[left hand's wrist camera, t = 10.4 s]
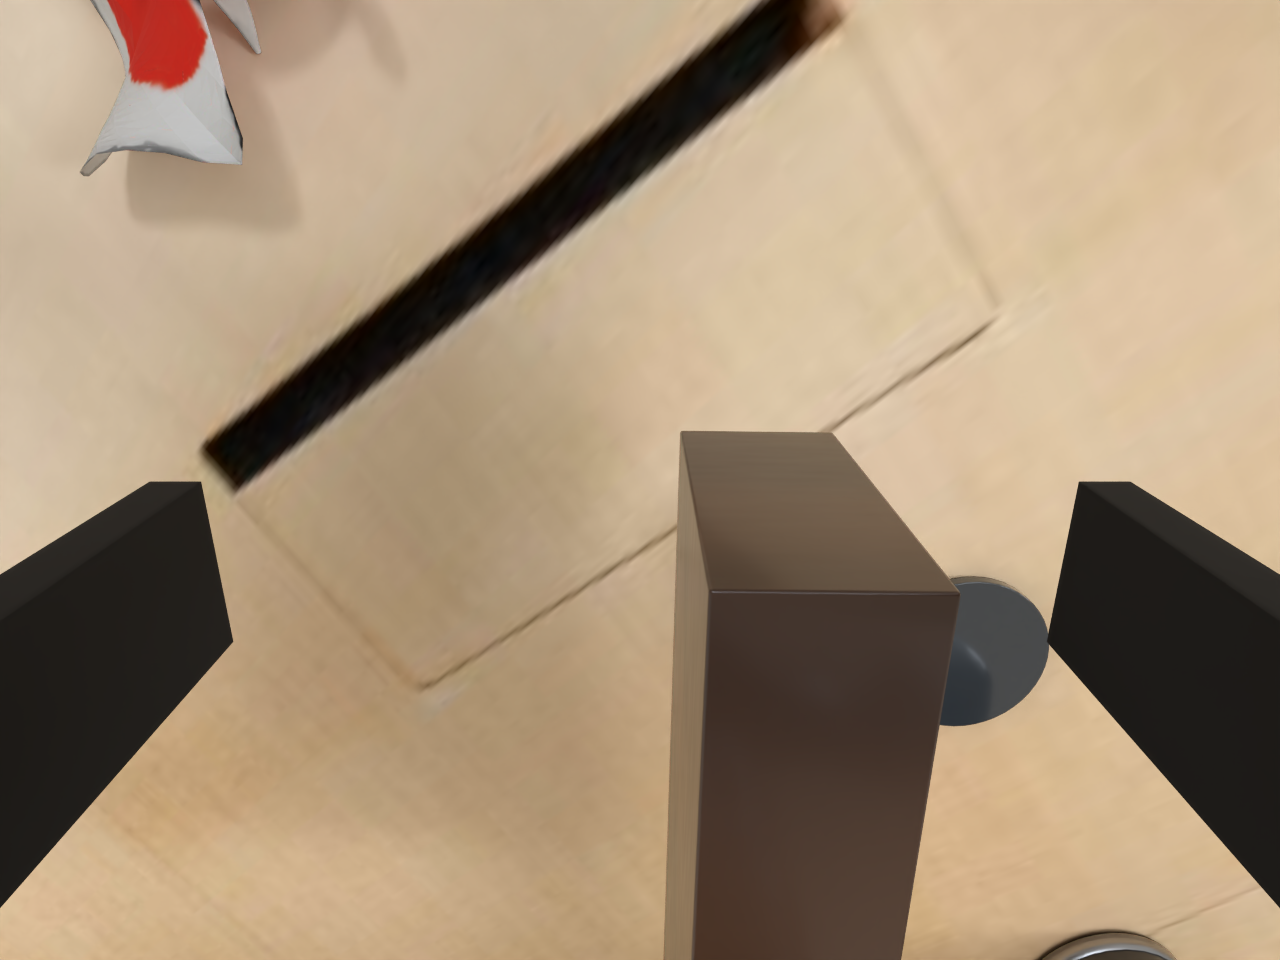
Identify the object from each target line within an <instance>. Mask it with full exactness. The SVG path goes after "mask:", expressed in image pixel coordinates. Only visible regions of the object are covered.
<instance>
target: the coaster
mask: <svg viewBox="0 0 1280 960" xmlns="http://www.w3.org/2000/svg"><path fill="white" fill-rule="evenodd" d="M950 580H951V582H952V583H953V584H954V585H955V587H956V588H957V589H958V590H959V592H960V594H961V596H960V602H959V608H958V615H957V621H956V627H955V633H954V639H953V645H952V651H951V657H950V663H949V670H948V676H947V682H946V688H945V694H944V700H943V706H942V712H941V718H940V724H939V725H944V726H965V725H972V724H977V723H981V722H984V721H987V720H990V719H992V718H995V717H997V716H999V715H1001V714H1003V713H1005V712H1007V711H1008V710H1010V709H1011V708H1013V707H1014V706H1015V705H1017V704H1018V703H1019V702H1020V701H1022V700H1023V699H1024V698H1025V697H1026V696H1027V695H1028V694H1029V693H1030V691H1031V690H1032V689H1033V687H1034V686H1035V685H1036V683H1037V682H1038V680H1039V678H1040V677H1041V675H1042V673H1043V670H1044V668H1045V665H1046V662H1047V658H1048V652H1049V644H1048V643H1047V638H1048V631H1047V627H1046V624H1045V621H1044V619H1043V617H1042V615H1041V613H1040V612H1039V610H1038V609H1037V608H1036V607H1035V605H1034V604H1033V603H1032V602H1031V601H1030V600H1029V599H1028V598H1027V597H1026V596H1025V595H1024V594H1023V593H1021V592H1020V591H1019V590H1017V589H1016V588H1014V587H1012V586H1010V585H1008V584H1006V583H1004V582H1001V581H998V580H995V579H990V578H985V577H961V578H955V579H950Z"/></svg>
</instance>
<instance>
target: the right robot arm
mask: <svg viewBox="0 0 1280 960" xmlns="http://www.w3.org/2000/svg"><path fill="white" fill-rule="evenodd" d="M1042 960H1176V959H1175V957H1174V956H1173V955H1172V954H1171V953H1170V952H1169V951H1168V950H1167V949H1166V948H1165V947H1163V946H1162V945H1161V944H1159V943H1157V942H1155V941H1153V940H1151V939H1148V938H1145V937H1142V936H1138V935H1133V934H1126V933H1106V934H1098V935H1093V936H1088V937H1084V938H1081V939H1078V940H1075V941H1072V942H1070V943H1068V944H1065V945H1063V946H1061V947H1060V948H1058V949H1056V950H1054V951H1053V952H1051V953H1050V954H1048V955H1047V956H1046V957H1044V958H1043V959H1042Z"/></svg>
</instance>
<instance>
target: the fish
mask: <svg viewBox="0 0 1280 960" xmlns="http://www.w3.org/2000/svg"><path fill="white" fill-rule="evenodd" d="M214 1H215V3H216V4H217V5H218V6H219V7H220V9H221V10H222V11H223V12H224V13H225V14H226V16H227V17H228V18H229V19H230V20H231V21H232V23H233V24H234V25H235V26H236V28H237V29H238V30H239V31H240V33H241V34H242V35H243V37H244V38H245V39H246V41H247V42H248V43H249V45H250V46H251V47H252V49H253V50H254V51H255V53H257V54H260V53H261V49H260V45H259V41H258V37H257V33H256V28H255V24H254V20H253V16H252V13H251V10H250V7H249V5H248V2H247V0H214ZM91 2H92V3H93V5H94V6H95V8H96V10H97V11H98V13H99V14H100V16H101V17H102V19H103V20H104V22H105V24H106V25H107V27H108V28H109V30H110V31H111V34H112V36H113V38H114V40H115V42H116V44H117V47H118V49H119V51H120V53H121V56H122V59H123V62H124V67H125V75H126V78H125V80H124V83H123V85H122V88H121V90H120V93H119V95H118V98H117V100H116V102H115V104H114V107H113V109H112V111H111V113H110V115H109V117H108V119H107V121H106V123H105V125H104V126H103V128H102V130H101V133H100V135H99V137H98V139H97V141H96V144H95V146H94V148H93V150H92V152H91V154H90V156H89V158H88V159H87V161H86V163H85V165H84V166H83V168H82V169H81V171H80V173H81V174H82V175H83V176H90V175H91V174H92V173H93V172H94V171H95V170H96V169H97V168H98V167H100V166H101V165H102V164H103V163H104V162H105V161H106V160H107V158H108V157H109V156H110V154H111V153H112V152H116V151H123V150H132V151H146V152H160V153H167V154H171V155H175V156H179V157H183V158H187V159H191V160H196V161H200V162H206V163H223V164H240V165H242V147H243V138H242V135H241V132H240V129H239V126H238V123H237V120H236V117H235V115H234V112H233V109H232V106H231V103H230V100H229V97H228V94H227V91H226V87H225V83H224V80H223V76H222V72H221V68H220V65H219V61H218V57H217V54H216V51H215V48H214V45H213V41H212V38H211V35H210V32H209V29H208V25H207V22H206V19H205V16H204V13H203V10H202V7H201V4H200V1H199V0H91Z"/></svg>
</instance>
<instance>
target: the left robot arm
mask: <svg viewBox="0 0 1280 960" xmlns="http://www.w3.org/2000/svg"><path fill="white" fill-rule="evenodd" d="M232 643H233V638H232V633H231V628H230V623H229V618H228V613H227V608H226V603H225V598H224V593H223V588H222V583H221V579H220V574H219V569H218V564H217V559H216V554H215V549H214V544H213V539H212V534H211V529H210V524H209V519H208V514H207V509H206V504H205V499H204V494H203V489H202V484H201V482H148V483H147V484H145V485H144V486H142V487H140V488H139V489H137V490H136V491H134V492H132V493H131V494H129V495H128V496H126V497H124V498H123V499H121V500H120V501H118V502H116V503H115V504H113V505H111V506H110V507H108V508H107V509H105V510H103V511H102V512H100V513H99V514H97V515H95V516H94V517H92V518H91V519H89V520H87V521H86V522H84V523H83V524H81V525H79V526H78V527H76V528H74V529H73V530H71V531H70V532H68V533H66V534H65V535H63V536H62V537H60V538H58V539H57V540H55V541H54V542H52V543H50V544H49V545H47V546H46V547H44V548H42V549H41V550H39V551H37V552H36V553H34V554H33V555H31V556H29V557H28V558H26V559H25V560H23V561H21V562H20V563H18V564H17V565H15V566H13V567H12V568H10V569H9V570H7V571H5V572H4V573H2V574H0V908H1V906H2V905H3V904H4V903H5V902H6V901H7V900H8V898H9V897H10V896H11V895H12V894H13V893H14V892H15V890H16V889H17V888H18V887H19V886H20V885H21V884H22V882H23V881H24V880H25V879H26V878H27V877H28V876H29V874H30V873H31V872H32V871H33V870H34V869H35V868H36V866H37V865H38V864H39V863H40V862H41V861H42V860H43V858H44V857H45V856H46V855H47V854H48V853H49V852H50V850H51V849H52V848H53V847H54V846H55V845H56V844H57V842H58V841H59V840H60V839H61V838H62V837H63V836H64V834H65V833H66V832H67V831H68V830H69V829H70V828H71V826H72V825H73V824H74V823H75V822H76V821H77V820H78V818H79V817H80V816H81V815H82V814H83V813H84V812H85V810H86V809H87V808H88V807H89V806H90V805H91V804H92V802H93V801H94V800H95V799H96V798H97V797H98V796H99V794H100V793H101V792H102V791H103V790H104V789H105V788H106V786H107V785H108V784H109V783H110V782H111V781H112V780H113V778H114V777H115V776H116V775H117V774H118V773H119V772H120V770H121V769H122V768H123V767H124V766H125V765H126V764H127V762H128V761H129V760H130V759H131V758H132V757H133V756H134V754H135V753H136V752H137V751H138V750H139V749H140V748H141V746H142V745H143V744H144V743H145V742H146V741H147V740H148V738H149V737H150V736H151V735H152V734H153V733H154V732H155V731H156V729H157V728H158V727H159V726H160V725H161V724H162V723H163V721H164V720H165V719H166V718H167V717H168V716H169V715H170V713H171V712H172V711H173V710H174V709H175V708H176V707H177V705H178V704H179V703H180V702H181V701H182V700H183V699H184V697H185V696H186V695H187V694H188V693H189V692H190V691H191V689H192V688H193V687H194V686H195V685H196V684H197V683H198V681H199V680H200V679H201V678H202V677H203V676H204V675H205V673H206V672H207V671H208V670H209V669H210V668H211V667H212V665H213V664H214V663H215V662H216V661H217V660H218V659H219V657H220V656H221V655H222V654H223V653H224V652H225V651H226V649H227V648H228V647H229V646H230V645H231V644H232ZM1047 643H1048V644H1049V645H1050V646H1051V647H1052V648H1053V649H1054V651H1055V652H1056V653H1057V654H1058V655H1059V656H1060V657H1061V659H1062V660H1063V661H1064V662H1065V663H1066V664H1067V665H1068V667H1069V668H1070V669H1071V670H1072V671H1073V672H1074V673H1075V675H1076V676H1077V677H1078V678H1079V679H1080V680H1081V681H1082V683H1083V684H1084V685H1085V686H1086V687H1087V688H1088V689H1089V691H1090V692H1091V693H1092V694H1093V695H1094V696H1095V697H1096V699H1097V700H1098V701H1099V702H1100V703H1101V704H1102V705H1103V707H1104V708H1105V709H1106V710H1107V711H1108V712H1109V713H1110V715H1111V716H1112V717H1113V718H1114V719H1115V720H1116V721H1117V723H1118V724H1119V725H1120V726H1121V727H1122V728H1123V729H1124V731H1125V732H1126V733H1127V734H1128V735H1129V736H1130V737H1131V738H1132V740H1133V741H1134V742H1135V743H1136V744H1137V745H1138V746H1139V748H1140V749H1141V750H1142V751H1143V752H1144V753H1145V754H1146V756H1147V757H1148V758H1149V759H1150V760H1151V761H1152V762H1153V764H1154V765H1155V766H1156V767H1157V768H1158V769H1159V770H1160V772H1161V773H1162V774H1163V775H1164V776H1165V777H1166V778H1167V780H1168V781H1169V782H1170V783H1171V784H1172V785H1173V786H1174V788H1175V789H1176V790H1177V791H1178V792H1179V793H1180V794H1181V796H1182V797H1183V798H1184V799H1185V800H1186V801H1187V802H1188V804H1189V805H1190V806H1191V807H1192V808H1193V809H1194V810H1195V812H1196V813H1197V814H1198V815H1199V816H1200V817H1201V818H1202V820H1203V821H1204V822H1205V823H1206V824H1207V825H1208V826H1209V828H1210V829H1211V830H1212V831H1213V832H1214V833H1215V834H1216V836H1217V837H1218V838H1219V839H1220V840H1221V841H1222V842H1223V844H1224V845H1225V846H1226V847H1227V848H1228V849H1229V850H1230V852H1231V853H1232V854H1233V855H1234V856H1235V857H1236V858H1237V860H1238V861H1239V862H1240V863H1241V864H1242V865H1243V866H1244V868H1245V869H1246V870H1247V871H1248V872H1249V873H1250V874H1251V876H1252V877H1253V878H1254V879H1255V880H1256V881H1257V882H1258V884H1259V885H1260V886H1261V887H1262V888H1263V889H1264V890H1265V892H1266V893H1267V894H1268V895H1269V896H1270V897H1271V898H1272V900H1273V901H1274V902H1275V903H1276V904H1277V905H1278V906H1279V908H1280V574H1278V573H1276V572H1275V571H1273V570H1271V569H1270V568H1268V567H1267V566H1265V565H1263V564H1262V563H1260V562H1259V561H1257V560H1255V559H1254V558H1252V557H1251V556H1249V555H1247V554H1246V553H1244V552H1243V551H1241V550H1239V549H1238V548H1236V547H1234V546H1233V545H1231V544H1230V543H1228V542H1226V541H1225V540H1223V539H1222V538H1220V537H1218V536H1217V535H1215V534H1214V533H1212V532H1210V531H1209V530H1207V529H1206V528H1204V527H1202V526H1201V525H1199V524H1197V523H1196V522H1194V521H1193V520H1191V519H1189V518H1188V517H1186V516H1185V515H1183V514H1181V513H1180V512H1178V511H1177V510H1175V509H1173V508H1172V507H1170V506H1169V505H1167V504H1165V503H1164V502H1162V501H1160V500H1159V499H1157V498H1156V497H1154V496H1152V495H1151V494H1149V493H1148V492H1146V491H1144V490H1143V489H1141V488H1140V487H1138V486H1136V485H1135V484H1133V483H1132V482H1079V484H1078V489H1077V494H1076V499H1075V504H1074V509H1073V514H1072V519H1071V524H1070V529H1069V534H1068V539H1067V544H1066V549H1065V554H1064V559H1063V564H1062V569H1061V574H1060V579H1059V583H1058V588H1057V593H1056V598H1055V603H1054V608H1053V613H1052V618H1051V623H1050V628H1049V633H1048V638H1047Z"/></svg>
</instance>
